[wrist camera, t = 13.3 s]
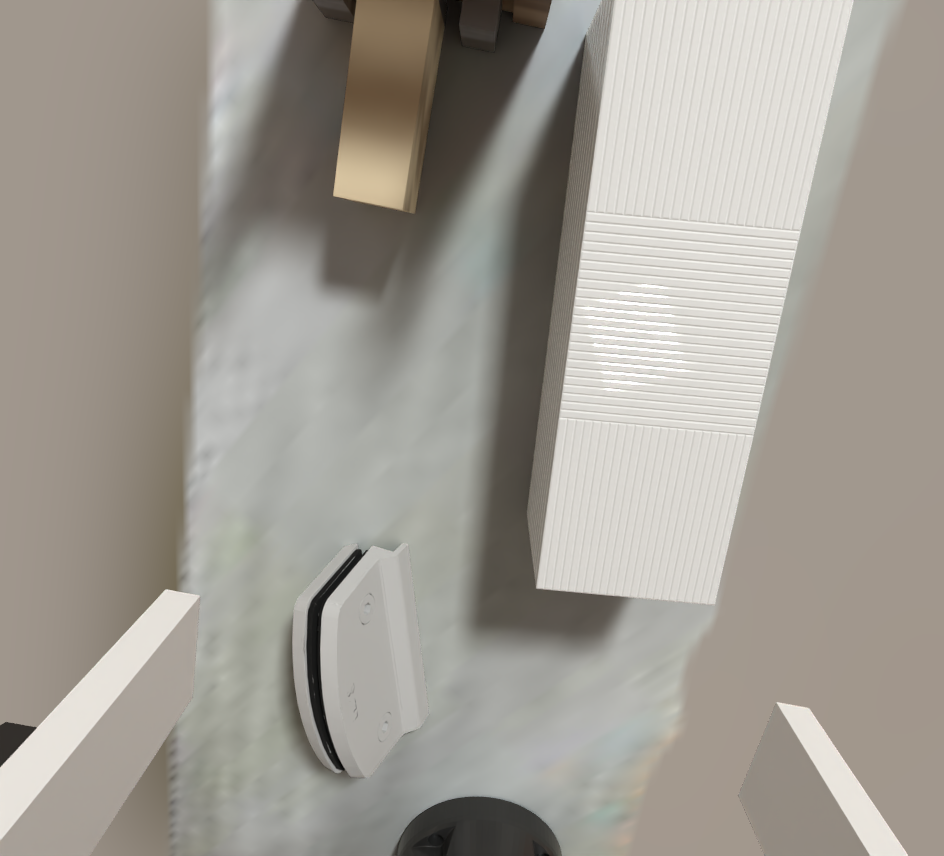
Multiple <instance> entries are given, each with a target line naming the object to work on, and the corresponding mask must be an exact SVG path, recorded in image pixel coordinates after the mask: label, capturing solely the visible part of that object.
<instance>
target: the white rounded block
mask: <svg viewBox="0 0 944 856" xmlns="http://www.w3.org/2000/svg"><path fill="white" fill-rule="evenodd" d="M292 652H293V672H294V682H295V690H296V696H297V703H298V707H299V711H300V716H301V720H302V723H303V726H304V729H305V732H306V735H307V737H308V740H309V742H310V744H311V746H312V749H313V750H314V752H315V754H316V755H317V757H318V759H319V760H320V761H321V763H322V764H323V765H324V766H325V767H327V768H328V769H330V770H332V771H333V772H335V773H340V772H342V771H344V770H346V771H347V773H348V774H349V776H350V777H352V778H369V777H370V776H371V775H372V774H373V773H374V772H375V770H376V769H377V768H378V766H379V765H380V764H381V762H382V761H383V760H384V759H385V757H386V756H387V755H388V753H389V752H390V751H391V749H392V748H393V747H394V746H395V744H396V743H397V742H398V740H399V739H400V738H401V736H402V735H403V734H405V733H408V732H411V731H414V730H417V729H419V728H420V727H421V726H422V724H423V723H424V721H425V720H426V718H427V716H428V715H429V706H428V698H427V690H426V682H425V674H424V666H423V658H422V650H421V642H420V634H419V626H418V618H417V610H416V602H415V594H414V586H413V578H412V570H411V562H410V554H409V546H408V544H404V543H402V544H401V545H400V546H399V547H398V548H397V549H396V550H395V551H394V552H392V551H389V550H386V549H382V548H379V547H376V546H372V547H371V548H370V549H369V550H366V551H365V552H364V554H363V555H362V552H361V549H358V544H350V545H347V546H344V547H343V548H342V549H341V550H340V552H339V553H338V554H337V555H336V556H335V557H334V558H333V559H332V560H331V561H330V563H329V564H328V565H327V566H326V567H325V568H324V569H323V570H322V571H321V573H320V574H319V575H318V576H317V577H316V578H315V579H314V580H313V581H312V582H311V584H310V585H309V586H308V587H307V588H306V589H305V590H304V591H303V592H302V594H301V595H300V596H299V597H298V599H297V601H296V603H295V606H294V615H293V636H292Z"/></svg>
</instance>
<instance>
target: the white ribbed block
mask: <svg viewBox="0 0 944 856" xmlns="http://www.w3.org/2000/svg"><path fill="white" fill-rule="evenodd" d="M853 1H854V0H602V1H601V3H600V5H599V8H598V9H597V11H596V14H595V16H594V18H593V20H592V22H591V25H590V26H589V29H588V31H587V33H586V38H585V46H584V54H583V62H582V70H581V78H580V86H579V94H578V103H577V111H576V119H575V127H574V135H573V143H572V151H571V159H570V167H569V175H568V184H567V192H566V200H565V208H564V216H563V224H562V232H561V240H560V248H559V256H558V265H557V273H556V281H555V289H554V297H553V305H552V313H551V321H550V329H549V337H548V346H547V354H546V362H545V370H544V378H543V386H542V394H541V402H540V410H539V418H538V427H537V435H536V443H535V451H534V459H533V467H532V475H531V483H530V491H529V499H528V508H527V521H528V529H529V536H530V542H531V544H530V545H531V552H532V560H533V568H534V576H535V584H536V589H545V590H555V591H566V592H577V593H588V594H598V595H609V596H620V597H630V598H641V599H652V600H663V601H673V602H684V603H695V604H706V605H715V601H716V596H717V592H718V588H719V583H720V579H721V574H722V570H723V566H724V561H725V557H726V553H727V548H728V544H729V540H730V535H731V531H732V527H733V522H734V518H735V514H736V509H737V505H738V501H739V496H740V492H741V488H742V483H743V479H744V475H745V470H746V466H747V462H748V457H749V453H750V449H751V444H752V440H753V436H754V431H755V427H756V422H757V418H758V414H759V409H760V405H761V401H762V396H763V392H764V388H765V383H766V379H767V375H768V370H769V366H770V362H771V357H772V353H773V349H774V344H775V340H776V336H777V331H778V327H779V323H780V318H781V314H782V310H783V305H784V301H785V297H786V292H787V288H788V283H789V279H790V275H791V270H792V266H793V262H794V257H795V253H796V249H797V244H798V240H799V236H800V231H801V227H802V223H803V218H804V214H805V210H806V205H807V201H808V197H809V192H810V188H811V184H812V179H813V175H814V171H815V166H816V162H817V158H818V153H819V149H820V145H821V140H822V136H823V131H824V127H825V123H826V118H827V114H828V110H829V105H830V101H831V97H832V92H833V88H834V84H835V79H836V75H837V71H838V66H839V62H840V58H841V53H842V49H843V45H844V40H845V36H846V32H847V27H848V23H849V19H850V14H851V10H852V6H853Z"/></svg>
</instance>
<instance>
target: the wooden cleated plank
mask: <svg viewBox="0 0 944 856" xmlns="http://www.w3.org/2000/svg"><path fill="white" fill-rule="evenodd" d="M313 1H314V3H315V4H316V5H317V7H318V8H319V9H320V11H321V12H322V13H323V15H324V16H325V17H327V18H332V19H337V20H342V21H346V22H351V23H354V17H355V9H356V1H357V0H313ZM456 1H461V2H463V3H462V9H461V15H460V21H459V28H460V34H461V41H462V46H465V47H470V48H475V49H480V50H485V51H489V52H494V51H495V46H496V40H497V35H498V29H499V23H500V18H501V12H502V10H504V11H508V12H513V20H512V22H515V23H519V24H524V25H529V26H533V27H538V28H543V29H545V25H546V21H547V17H548V13H549V9H550V5H551V1H552V0H456Z"/></svg>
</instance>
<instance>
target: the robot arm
mask: <svg viewBox="0 0 944 856" xmlns="http://www.w3.org/2000/svg"><path fill="white" fill-rule="evenodd" d="M199 606H200V596H199V595H194V594H188V593H183V592H177V591H172V590H165V591H164V592H163V593H162V594H161V595H160V596H159V597H158V598H157V600H155V602H154V603H153V604H152V605H151V606H150V607H149V608H148V609H147V610H146V611H145V612H144V613H143V615H142V616H141V617H140V618H139V619H138V620H137V621H136V622H135V623H134V624H133V626H132V627H130V629H129V630H128V631H127V632H126V633H125V634H124V635H123V636H122V637H121V638H120V639H119V640H118V641H117V643H116V644H115V645H114V646H113V647H112V648H111V649H110V650H109V651H108V652H107V653H106V654H105V655H104V657H103V658H102V659H101V660H100V661H99V662H98V663H97V664H96V665H95V666H94V667H93V668H92V669H91V670H90V671H89V673H88V674H87V675H86V676H85V677H84V678H83V679H82V680H81V681H80V683H78V684H77V685H76V687H75V688H74V689H73V690H72V691H71V692H70V693H69V694H68V695H67V696H66V697H65V699H63V701H62V702H61V703H60V704H59V705H58V706H57V707H56V708H55V709H54V710H53V711H52V712H51V714H50V715H49V716H48V717H47V718H46V719H45V720H44V721H43V722H42V723H41V724H40V726H38V728H36V727H31V726H25V725H20V724H14V723H8V722H5V723H4V724H2V725H0V856H90V854H91V852H92V851H93V849H94V848H95V846H96V845H97V843H98V842H99V840H100V839H101V837H102V836H103V834H104V833H105V831H106V829H107V828H108V827H109V825H110V823H111V822H112V820H113V819H114V817H115V816H116V814H117V813H118V811H119V810H120V808H121V807H122V805H123V804H124V802H125V800H126V799H127V797H128V796H129V794H130V793H131V791H132V790H133V788H134V787H135V785H136V784H137V782H138V781H139V779H140V777H141V776H142V774H143V773H144V771H145V770H146V768H147V767H148V765H149V764H150V762H151V761H152V759H153V758H154V756H155V754H156V753H157V751H158V750H159V748H160V747H161V745H162V744H163V742H164V741H165V739H166V738H167V736H168V735H169V733H170V731H171V730H172V728H173V727H174V725H175V724H176V722H177V721H178V719H179V718H180V716H181V715H182V713H183V712H184V710H185V708H186V707H187V705H188V704H189V702H190V701H191V699H192V698H193V689H194V675H195V661H196V647H197V634H198V620H199ZM738 797H739V799H740V801H741V803H742V806H743V808H744V810H745V813H746V815H747V817H748V819H749V822H750V824H751V826H752V828H753V830H754V833H755V835H756V837H757V840H758V842H759V844H760V846H761V849H762V851H763V853H764V856H908V855H907V853H906V852H905V850H904V849H903V847H902V846H901V844H900V843H899V841H898V840H897V838H896V837H895V835H894V834H893V832H892V831H891V829H890V828H889V826H888V825H887V823H886V822H885V820H884V819H883V817H882V816H881V814H880V813H879V811H878V810H877V809H876V807H875V806H874V804H873V803H872V801H871V800H870V798H869V797H868V795H867V794H866V792H865V791H864V789H863V788H862V786H861V785H860V783H859V782H858V780H857V779H856V777H855V776H854V774H853V773H852V772H851V770H850V769H849V767H848V765H847V764H846V762H845V761H844V759H843V758H842V757H841V755H840V754H839V752H838V751H837V749H836V748H835V746H834V745H833V743H832V742H831V740H830V739H829V737H828V736H827V734H826V733H825V731H824V730H823V728H822V727H821V725H820V724H819V722H818V721H817V719H816V718H815V717H814V715H813V713H812V712H811V711H810V709H809V708H806V707H800V706H794V705H789V704H784V703H778V702H776V704H775V706H774V709H773V711H772V714H771V716H770V718H769V721H768V724H767V726H766V728H765V731H764V733H763V736H762V738H761V741H760V743H759V745H758V748H757V750H756V753H755V755H754V758H753V760H752V762H751V765H750V767H749V770H748V772H747V775H746V778H745V780H744V782H743V784H742V787H741V789H740V792H739V794H738ZM397 856H562V854H561V849H560V846H559V843H558V841H557V839H556V837H555V835H554V833H553V832H552V830H551V829H550V828H549V827H548V826H547V824H546V823H545V822H544V821H542V820H541V819H540V818H539V817H538V816H536V815H535V814H534V813H532V812H531V811H529V810H527V809H525V808H523V807H521V806H519V805H517V804H514V803H511V802H508V801H505V800H501V799H496V798H489V797H465V798H458V799H453V800H449V801H446V802H443V803H440V804H438V805H435V806H433V807H431V808H429V809H428V810H426V811H424V812H423V813H422V814H420V815H419V816H418V817H416V818H415V819H414V820H413V821H412V822H411V824H410V825H409V826H408V827H407V829H406V830H405V832H404V833H403V835H402V837H401V840H400V843H399V846H398V852H397Z"/></svg>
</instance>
